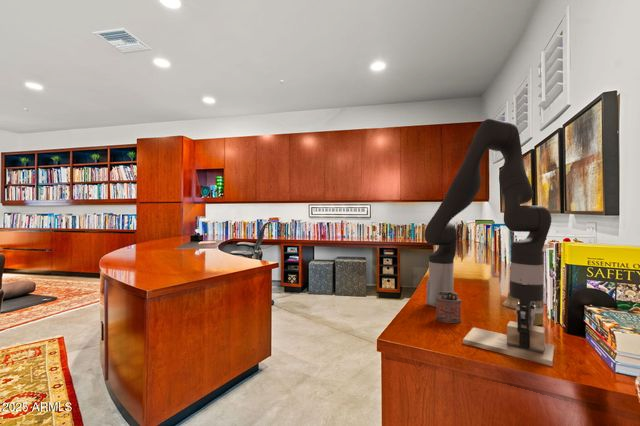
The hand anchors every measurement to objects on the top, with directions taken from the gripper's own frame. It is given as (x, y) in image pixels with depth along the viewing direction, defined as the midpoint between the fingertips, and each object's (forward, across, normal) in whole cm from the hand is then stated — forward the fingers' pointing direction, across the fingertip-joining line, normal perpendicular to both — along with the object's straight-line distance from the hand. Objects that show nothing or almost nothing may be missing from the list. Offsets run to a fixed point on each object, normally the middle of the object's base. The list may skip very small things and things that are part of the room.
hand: (525, 344), depth 82 cm
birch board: (+2, 0, -4) cm, 5 cm away
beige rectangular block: (0, 0, 0) cm, 0 cm away
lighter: (+2, -11, -23) cm, 26 cm away
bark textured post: (+2, -28, -1) cm, 28 cm away
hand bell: (+2, -47, -8) cm, 48 cm away
